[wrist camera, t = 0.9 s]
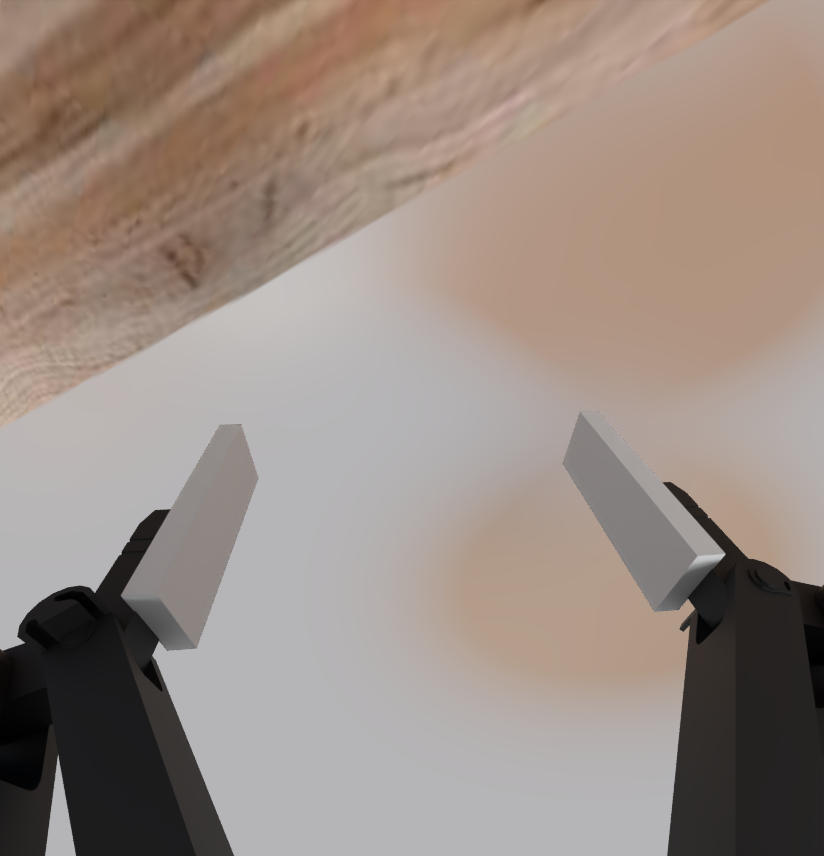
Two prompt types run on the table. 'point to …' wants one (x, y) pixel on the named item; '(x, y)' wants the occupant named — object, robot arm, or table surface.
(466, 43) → the table surface
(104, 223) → the table surface
